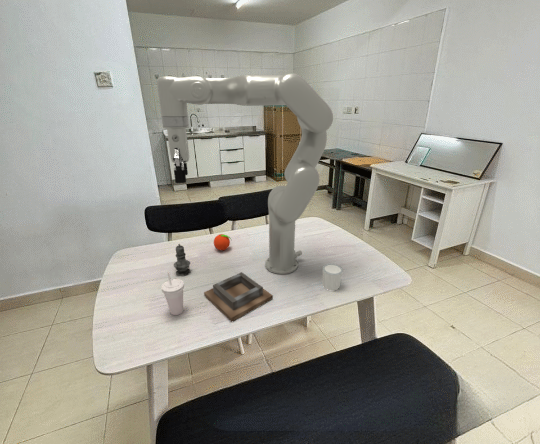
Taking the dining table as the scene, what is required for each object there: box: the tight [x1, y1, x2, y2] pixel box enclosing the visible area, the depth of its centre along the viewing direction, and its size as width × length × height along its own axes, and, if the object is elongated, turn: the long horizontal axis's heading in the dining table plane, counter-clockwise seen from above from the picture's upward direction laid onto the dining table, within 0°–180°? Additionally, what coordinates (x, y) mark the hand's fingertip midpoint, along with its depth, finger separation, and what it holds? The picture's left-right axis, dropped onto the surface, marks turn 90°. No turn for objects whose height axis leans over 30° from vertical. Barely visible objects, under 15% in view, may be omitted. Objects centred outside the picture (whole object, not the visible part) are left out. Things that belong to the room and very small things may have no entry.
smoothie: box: [160, 271, 185, 316], centre depth 86 cm, size 6×6×14 cm
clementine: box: [213, 233, 232, 251], centre depth 123 cm, size 8×7×7 cm
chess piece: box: [173, 243, 191, 277], centre depth 106 cm, size 6×6×12 cm
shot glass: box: [322, 263, 344, 291], centre depth 99 cm, size 7×7×7 cm
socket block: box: [203, 271, 274, 323], centre depth 93 cm, size 16×16×4 cm
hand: (182, 178), depth 93 cm, fingers open, 9 cm apart
